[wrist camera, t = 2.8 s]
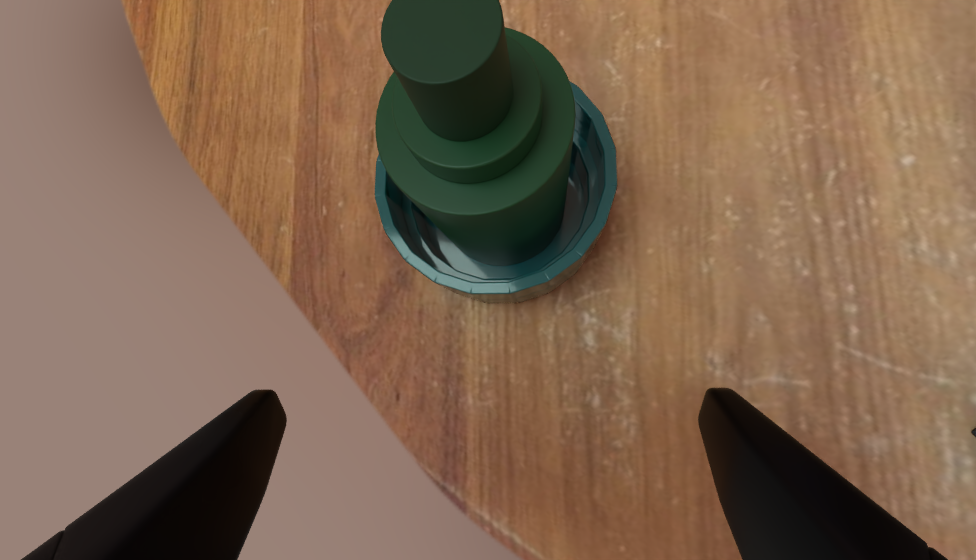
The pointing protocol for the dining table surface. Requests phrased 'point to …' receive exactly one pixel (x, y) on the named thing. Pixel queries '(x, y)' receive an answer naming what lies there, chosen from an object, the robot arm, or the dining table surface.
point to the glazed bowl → (539, 274)
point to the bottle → (476, 126)
